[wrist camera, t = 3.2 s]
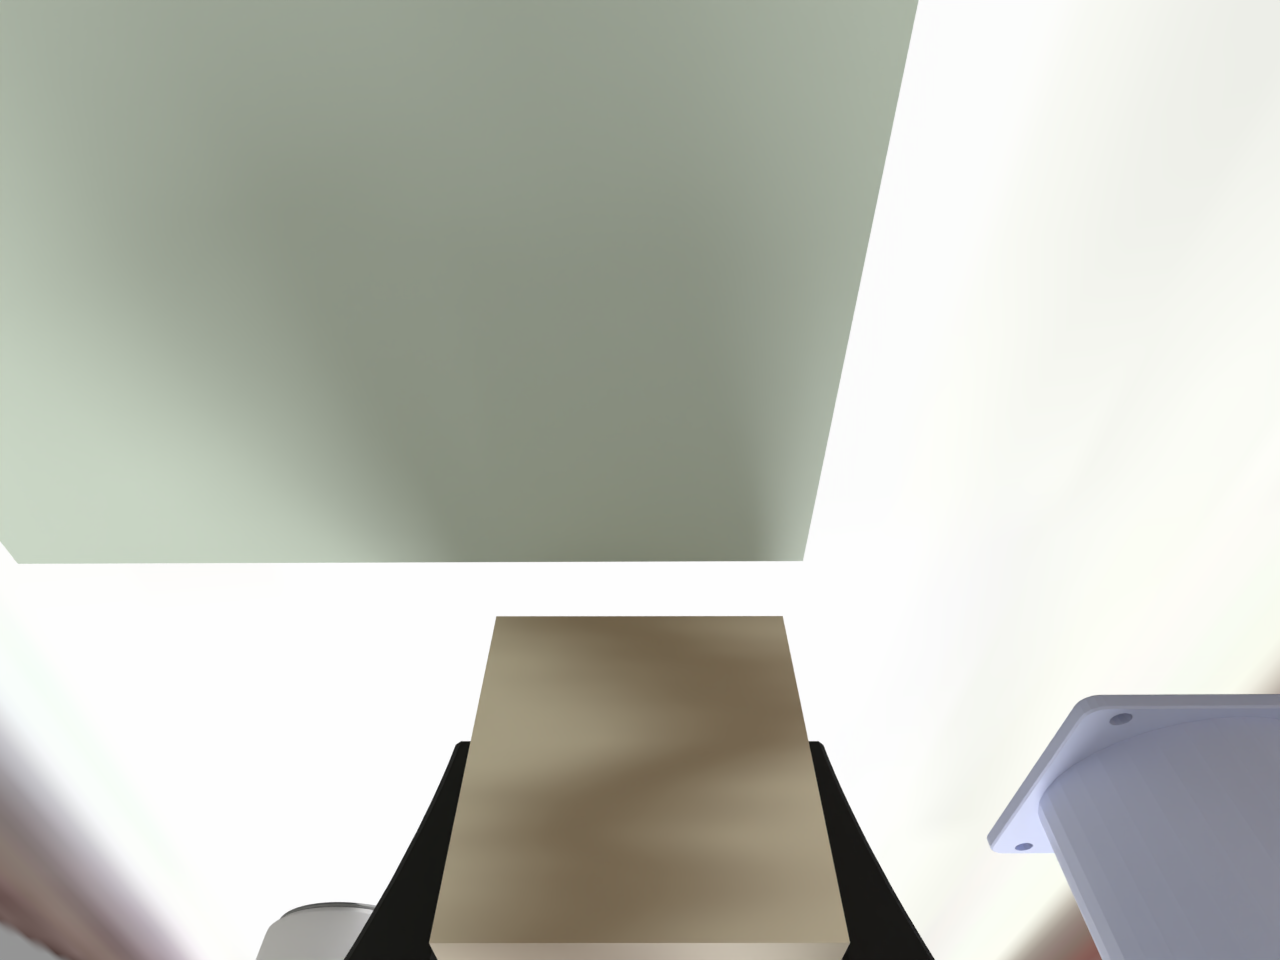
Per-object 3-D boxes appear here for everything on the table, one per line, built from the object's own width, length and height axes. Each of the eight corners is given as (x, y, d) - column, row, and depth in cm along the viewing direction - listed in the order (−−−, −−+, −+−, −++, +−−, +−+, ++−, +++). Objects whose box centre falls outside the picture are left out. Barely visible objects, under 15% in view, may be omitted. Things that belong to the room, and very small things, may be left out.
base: (1053, -998, 5) (1181, -1282, 4) (788, 506, 14) (803, 561, 13) (-952, -1006, 5) (-1457, -1303, 4) (71, 508, 14) (18, 564, 12)
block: (783, 616, 12) (849, 942, 8) (754, 766, 15) (792, 1055, 11) (496, 615, 12) (428, 942, 8) (525, 767, 15) (486, 1055, 11)
